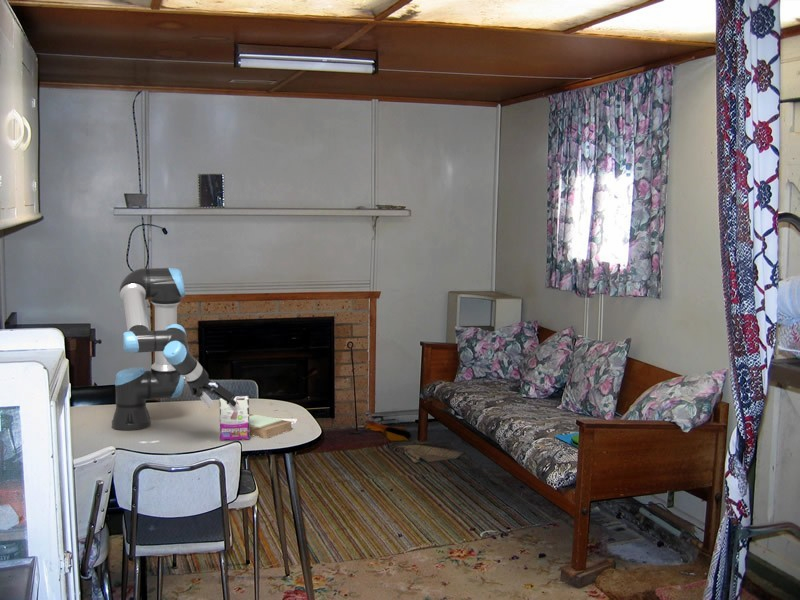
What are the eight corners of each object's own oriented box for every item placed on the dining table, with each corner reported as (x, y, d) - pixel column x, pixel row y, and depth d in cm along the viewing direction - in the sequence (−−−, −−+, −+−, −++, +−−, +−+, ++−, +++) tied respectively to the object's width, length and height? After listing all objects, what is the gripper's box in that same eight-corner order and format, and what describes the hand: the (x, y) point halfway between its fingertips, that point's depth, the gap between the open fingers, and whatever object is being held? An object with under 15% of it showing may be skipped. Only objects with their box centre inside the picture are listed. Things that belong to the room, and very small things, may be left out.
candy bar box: (249, 436, 331) (249, 395, 330) (249, 440, 326) (249, 398, 325) (220, 437, 330) (220, 396, 328) (219, 440, 325) (219, 398, 323)
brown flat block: (224, 429, 340) (224, 421, 340) (250, 422, 353) (250, 413, 352) (266, 438, 329) (266, 429, 328) (291, 430, 341) (291, 421, 341)
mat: (233, 422, 339) (233, 421, 339) (255, 415, 350) (255, 414, 349) (260, 427, 331) (260, 426, 331) (282, 420, 342) (282, 419, 342)
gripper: (164, 378, 311) (195, 410, 325) (214, 386, 298) (243, 420, 312) (175, 361, 315) (205, 394, 329) (224, 369, 301) (253, 403, 316)
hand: (224, 407), depth 320 cm, fingers open, 13 cm apart
